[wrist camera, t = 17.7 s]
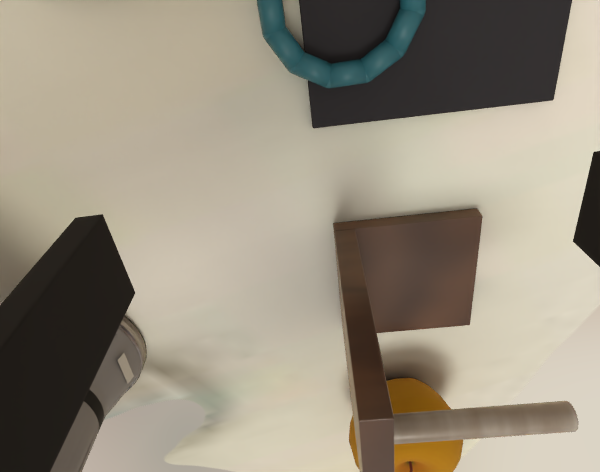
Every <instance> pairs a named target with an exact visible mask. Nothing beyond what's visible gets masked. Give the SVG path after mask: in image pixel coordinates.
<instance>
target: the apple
mask: <svg viewBox="0 0 600 472" xmlns="http://www.w3.org/2000/svg"><path fill="white" fill-rule="evenodd" d="M387 386H388V391H389V396H390V401H391V405H392V410H393V414H398V413H411V412H424V411H438V410H451V409H450V407H449V406H448V405H447V404H446V402H445V401H444V400H443V399H442V397H441V396H440V395H439V394H438V393H436V392H435V391H434V390H433V389H432V388H431V387H429V386H428V385H427V384H425V383H423V382H421V381H419V380H417V379H413V378H399V379H392V380H388V381H387ZM349 442H350V446H351V449H352V452H353V456H354V459H355V463H356V465H357V467H358V468H359V461H358V453H357V444H356V436H355V427H354V419H353V416H352V419H351V422H350V433H349ZM462 445H463V440H449V441H435V442H421V443H406V444H394V468H395V472H453V471H454V469H455V468H456V466H457V464H458V462H459V461H460V457H461V452H462Z"/></svg>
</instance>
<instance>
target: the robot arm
mask: <svg viewBox="0 0 600 472" xmlns="http://www.w3.org/2000/svg"><path fill="white" fill-rule="evenodd" d="M573 242H574V243H575V244H576V245H577V246H579V247H580V248H581V249H582V250H583V251H584V252H585V253H586V254H587V255H588V256H589V257H590V258H591V259H592V260H593V261H594V262H595V263H596V264H597V265H598V266H599V267H600V151H597V152H594V153H593V157H592V162H591V166H590V170H589V175H588V179H587V183H586V188H585V192H584V196H583V200H582V205H581V209H580V213H579V218H578V222H577V226H576V231H575V235H574V239H573ZM134 294H135V291H134V289H133V286H132V284H131V282H130V279H129V277H128V274H127V272H126V269H125V267H124V265H123V262H122V260H121V257H120V255H119V253H118V250H117V248H116V245H115V243H114V241H113V238H112V236H111V233H110V231H109V229H108V226H107V224H106V221H105V219H104V217H103V214H102V215H94V216H86V217H78V218H75V219H74V220H73V221H72V223H71V224H70V225H69V226H68V227H67V228H66V230H65V231H64V232H63V233H62V234H61V235H60V237H59V238H58V239H57V240H56V241H55V242H54V243H53V245H52V246H51V247H50V248H49V249H48V250H47V252H46V253H45V254H44V255H43V256H42V257H41V259H40V260H39V261H38V262H37V263H36V264H35V266H34V267H33V268H32V269H31V270H30V271H29V273H28V274H27V275H26V276H25V277H24V278H23V280H22V281H21V282H20V283H19V284H18V285H17V287H16V288H15V289H14V290H13V291H12V292H11V294H10V295H9V296H8V297H7V298H6V299H5V300H4V302H3V303H2V304H1V305H0V472H82V470H83V467H84V465H85V462H86V460H87V458H88V455H89V453H90V451H91V448H92V446H93V443H94V441H95V439H96V436H97V434H98V432H99V429H100V427H101V424H102V422H103V420H104V418H105V416H106V415H107V414H108V413H109V411H110V410H111V409H112V408H113V407H114V405H115V404H116V403H117V402H118V401H119V399H120V398H121V397H122V396H123V394H124V393H126V392H127V391H128V390H129V389H130V388H131V387H132V386H133V385H134V384H135V383H136V381H137V380H138V378H139V376H140V373H141V371H142V368H143V366H144V363H145V359H146V347H145V343H144V340H143V338H142V336H141V334H140V333H139V331H138V330H137V328H136V327H135V326H134V325H133V324H132V323H131V322H130V321H129V320H128V319H127V318H126V317H125V316H124V315H125V313H126V311H127V309H128V307H129V305H130V303H131V301H132V299H133V296H134Z"/></svg>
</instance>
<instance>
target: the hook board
mask: <svg viewBox="0 0 600 472" xmlns="http://www.w3.org/2000/svg"><path fill="white" fill-rule="evenodd" d="M481 224H482V215H481V213H480V212H479V210H478V209H467V210H457V211H447V212H438V213H428V214H418V215H409V216H399V217H389V218H379V219H370V220H360V221H350V222H341V223H333V228H334V238H335V249H336V260H337V271H338V282H339V293H340V304H341V315H342V326H343V334H344V343H345V351H346V360H347V368H348V377H349V385H350V394H351V402H352V411H353V419H354V427H355V436H356V444H357V453H358V461H359V470H360V472H395V468H394V444H406V443H421V442H435V441H449V440H463V439H477V438H490V437H505V436H519V435H533V434H548V433H561V432H575V431H576V430H577V429H578V418H577V414H576V412H575V410H574V408H573V406H572V405H571V404H570V403H569V402H568V401H557V402H544V403H532V404H518V405H504V406H491V407H478V408H464V409H451V410H438V411H424V412H411V413H398V414H393V410H392V405H391V401H390V396H389V391H388V386H387V381H386V376H385V372H384V367H383V362H382V357H381V352H380V348H379V343H378V338H377V333H382V332H394V331H405V330H417V329H428V328H440V327H451V326H463V325H470V318H471V309H472V301H473V292H474V284H475V275H476V267H477V258H478V250H479V241H480V233H481Z"/></svg>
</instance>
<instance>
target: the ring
mask: <svg viewBox="0 0 600 472" xmlns="http://www.w3.org/2000/svg"><path fill="white" fill-rule="evenodd" d="M257 5H258V11H259V17H260V22H261V28H262V34H263V37H264V39H265V40H266V42H267V43H268V44H269V46H270V47H271V48H272V50H273V51H274V52H275V54H276V55H277V56H278V58H279V59H280V60H281V62H282V63H283V64H284V65H285V67H286V68H287V69H288V71H289V72H290V73H292V74H294V75H297V76H299V77H301V78H304V79H306V80H309V81H311V82H313V83H316V84H318V85H320V86H323V87H325V88H336V87H343V86H350V85H357V84H364V83H368V82H370V81H372V80H373V79H374V78H375V77H377V76H378V75H379V74H381V73H382V72H383V71H385V70H386V69H387V68H389V67H390V66H391V65H393V64H394V63H395V62H397V61H398V60H399V59H401V58H402V57H403V56H404V54H405V53H406V51H407V49H408V47H409V45H410V43H411V41H412V39H413V37H414V35H415V33H416V31H417V29H418V27H419V25H420V23H421V21H422V19H423V17H424V14H425V11H426V0H400V10H399V12H398V14H397V16H396V18H395V20H394V22H393V24H392V27H391V29H390V31H389V33H388V35H387V37H386V39H385V40H384V41H383V42H382V43H380V44H379V45H378V46H377V47H375V48H374V49H373V50H371V51H370V52H369V53H368V54H366V55H365V56H364V57H363V58H361V59H358V60H351V61H345V62H338V63H329V62H327V61H324V60H322V59H320V58H318V57H315V56H313V55H311V54H308V53H306V52H304V51H303V49H302V48H301V46H300V45H299V44H298V42H297V41H296V40H295V38H294V37H293V35H292V34H291V33H290V31H289V30H288V28H287V27H286V24H285V17H284V10H283V3H282V0H257Z"/></svg>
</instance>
